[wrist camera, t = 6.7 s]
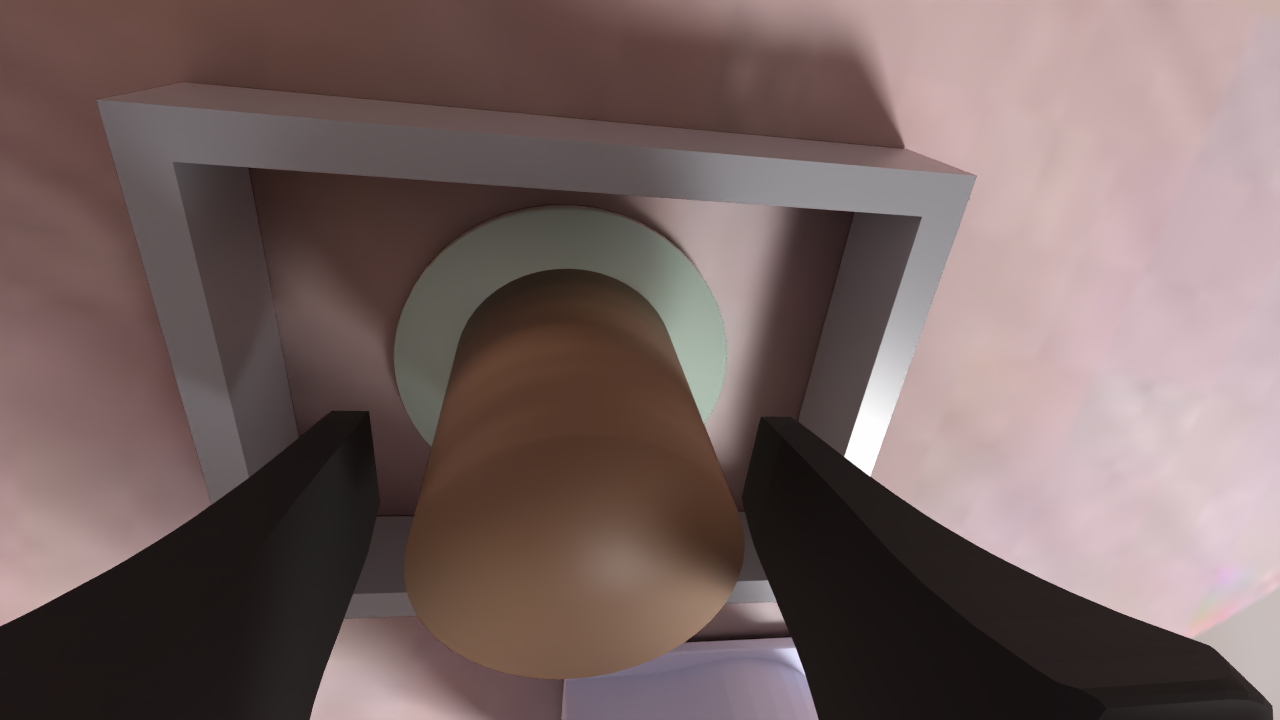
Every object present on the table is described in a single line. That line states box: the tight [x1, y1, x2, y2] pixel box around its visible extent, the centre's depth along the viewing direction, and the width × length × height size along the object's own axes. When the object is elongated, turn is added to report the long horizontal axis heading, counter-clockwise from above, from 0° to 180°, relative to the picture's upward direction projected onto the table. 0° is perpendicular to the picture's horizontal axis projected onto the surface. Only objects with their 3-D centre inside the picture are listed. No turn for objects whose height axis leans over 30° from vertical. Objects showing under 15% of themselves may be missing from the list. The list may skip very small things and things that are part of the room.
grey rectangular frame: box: [96, 82, 977, 619], centre depth 14 cm, size 14×11×2 cm
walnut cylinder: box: [404, 269, 745, 679], centre depth 12 cm, size 5×5×6 cm
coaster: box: [394, 205, 727, 447], centre depth 15 cm, size 8×8×1 cm
